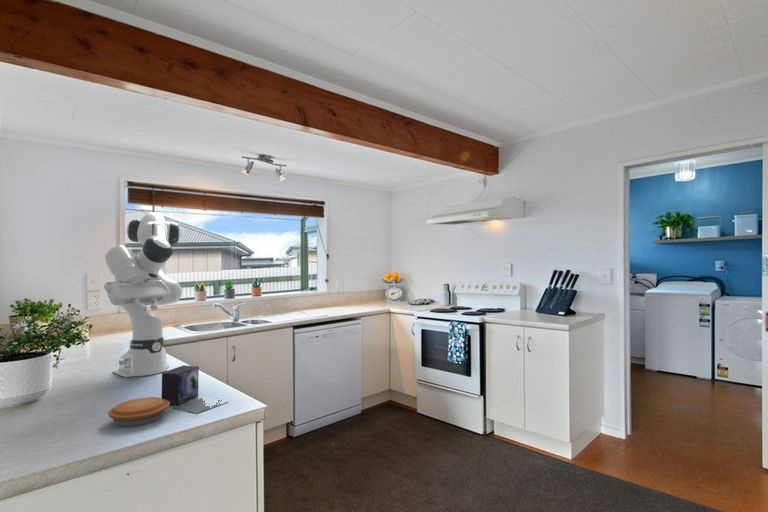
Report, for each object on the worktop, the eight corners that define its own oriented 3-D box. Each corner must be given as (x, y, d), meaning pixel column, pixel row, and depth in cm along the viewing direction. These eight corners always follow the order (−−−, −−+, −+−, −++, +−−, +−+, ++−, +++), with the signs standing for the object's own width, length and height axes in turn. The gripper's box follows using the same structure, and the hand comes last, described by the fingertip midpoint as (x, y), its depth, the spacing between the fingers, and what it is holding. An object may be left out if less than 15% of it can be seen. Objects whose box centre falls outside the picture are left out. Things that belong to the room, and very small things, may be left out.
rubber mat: (172, 408, 127) (172, 407, 127) (205, 397, 138) (205, 396, 138) (196, 414, 122) (196, 413, 122) (228, 402, 133) (228, 401, 133)
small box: (178, 407, 128) (178, 373, 129) (160, 406, 130) (160, 372, 130) (199, 396, 139) (199, 365, 139) (182, 395, 140) (182, 364, 140)
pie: (100, 421, 117) (100, 403, 118) (158, 407, 129) (158, 391, 129) (117, 435, 107) (117, 416, 107) (178, 418, 119) (178, 401, 119)
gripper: (105, 276, 137) (123, 306, 132) (163, 274, 155) (179, 301, 151) (98, 289, 139) (115, 319, 134) (155, 286, 157) (172, 312, 153)
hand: (149, 309), depth 143 cm, fingers open, 3 cm apart
